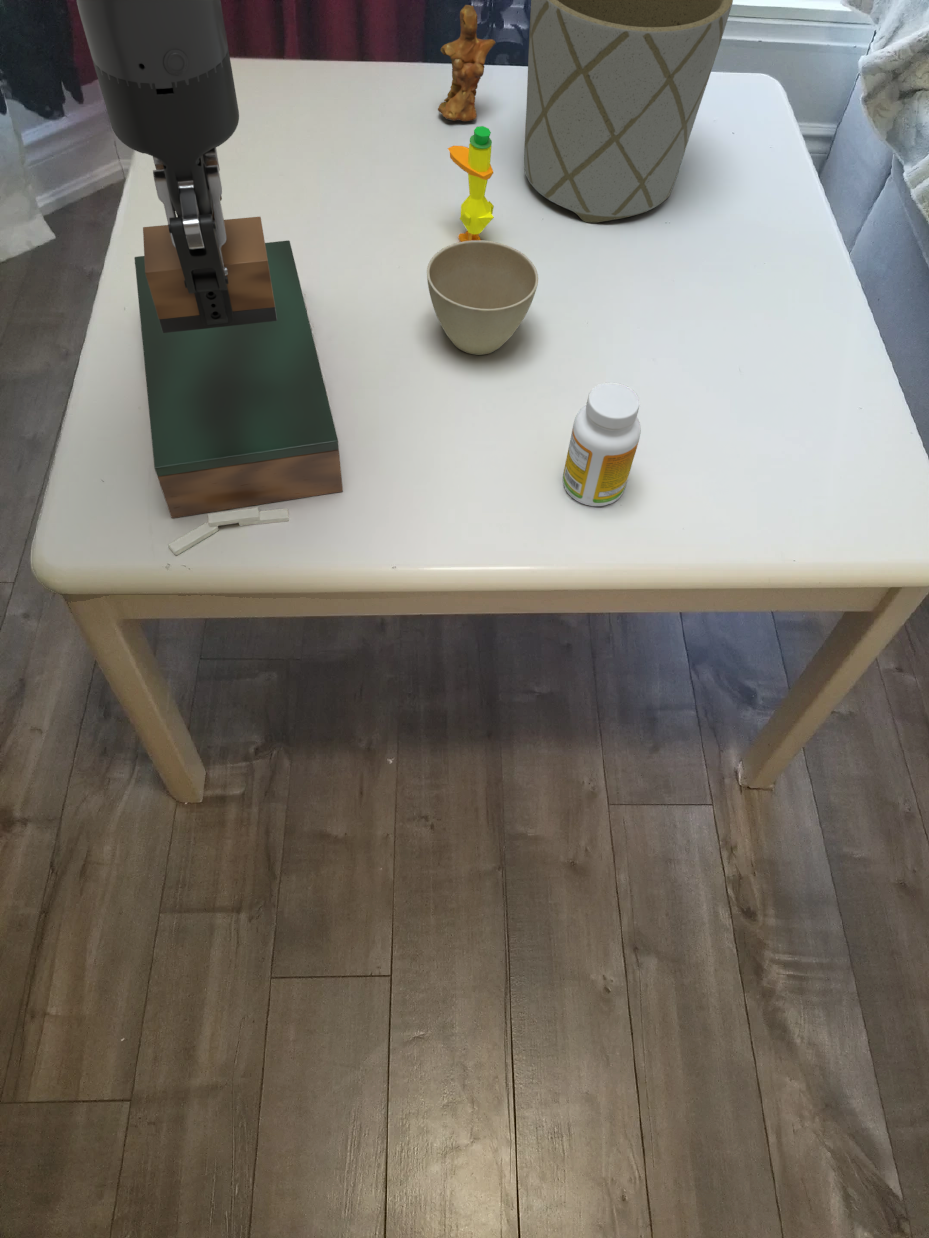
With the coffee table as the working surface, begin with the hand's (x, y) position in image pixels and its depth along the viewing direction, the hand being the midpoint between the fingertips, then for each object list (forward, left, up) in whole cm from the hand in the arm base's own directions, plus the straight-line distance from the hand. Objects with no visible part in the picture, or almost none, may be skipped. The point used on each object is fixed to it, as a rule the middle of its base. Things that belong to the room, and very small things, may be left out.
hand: (215, 296), depth 65 cm
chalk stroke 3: (0, -8, -15) cm, 17 cm away
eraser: (0, 0, -1) cm, 1 cm away
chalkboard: (0, +7, -16) cm, 17 cm away
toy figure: (+26, +25, -16) cm, 40 cm away
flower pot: (+23, +10, -16) cm, 30 cm away
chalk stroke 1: (-5, -9, -15) cm, 18 cm away
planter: (+43, +33, -16) cm, 57 cm away
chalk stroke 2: (-2, -8, -15) cm, 17 cm away
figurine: (+31, +48, -16) cm, 59 cm away
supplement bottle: (+28, -10, -16) cm, 34 cm away
